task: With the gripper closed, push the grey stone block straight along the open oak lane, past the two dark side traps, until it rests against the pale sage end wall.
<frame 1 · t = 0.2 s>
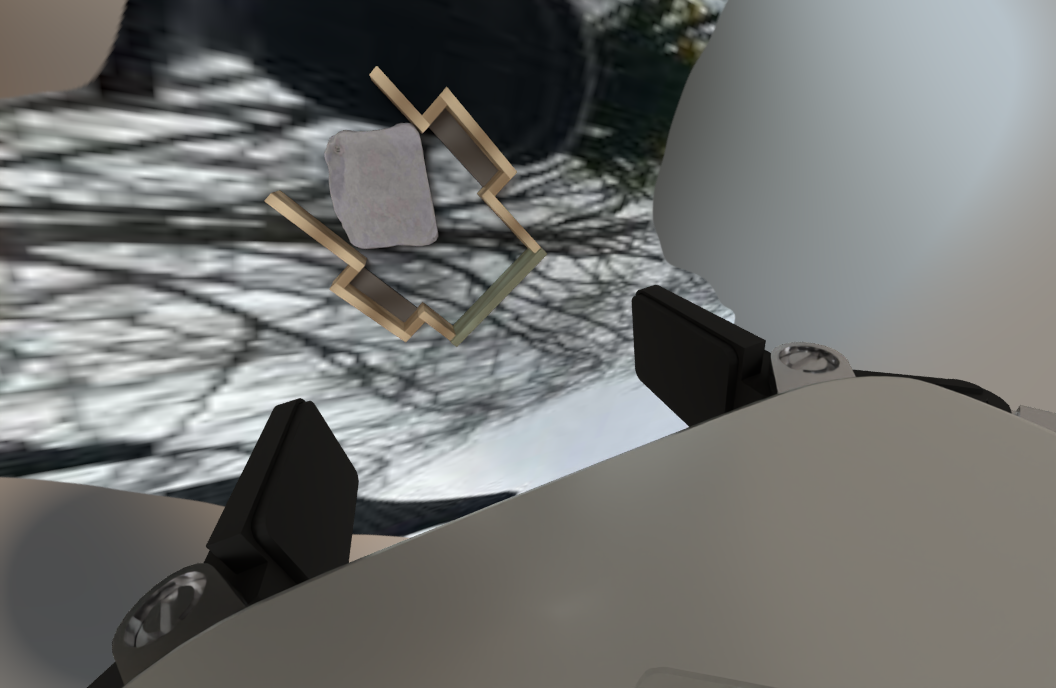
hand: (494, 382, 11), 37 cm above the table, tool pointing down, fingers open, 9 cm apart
stone block: (382, 190, 40), on the table
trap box: (422, 225, 42), on the table
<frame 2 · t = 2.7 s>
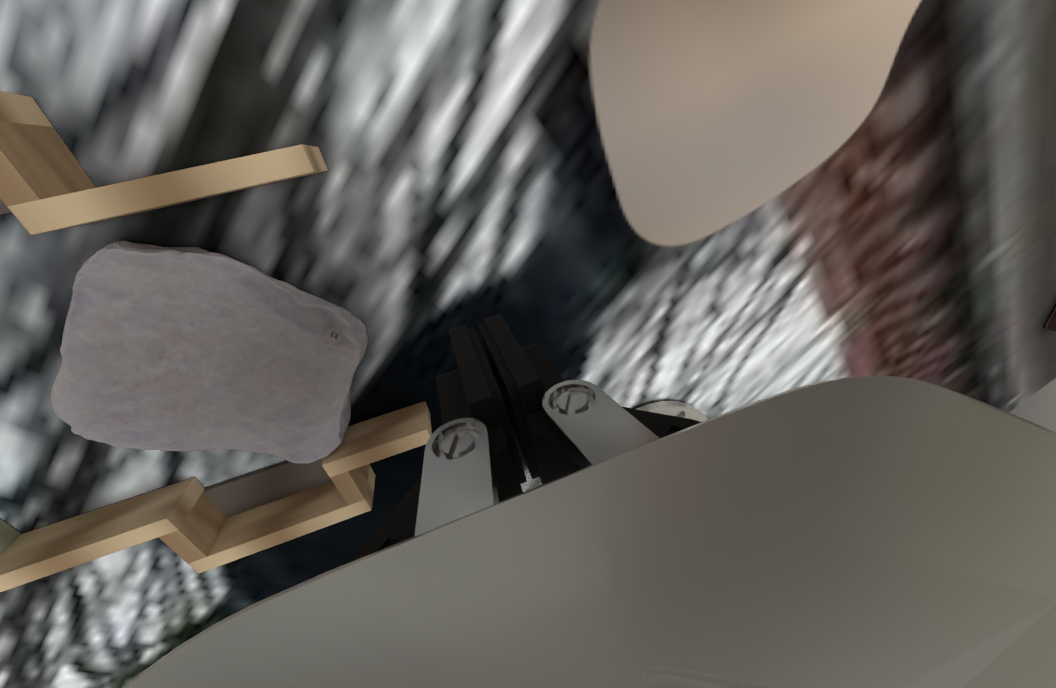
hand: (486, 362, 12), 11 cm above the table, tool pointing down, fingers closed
stone block: (250, 338, 20), on the table, touching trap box
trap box: (151, 370, 19), on the table
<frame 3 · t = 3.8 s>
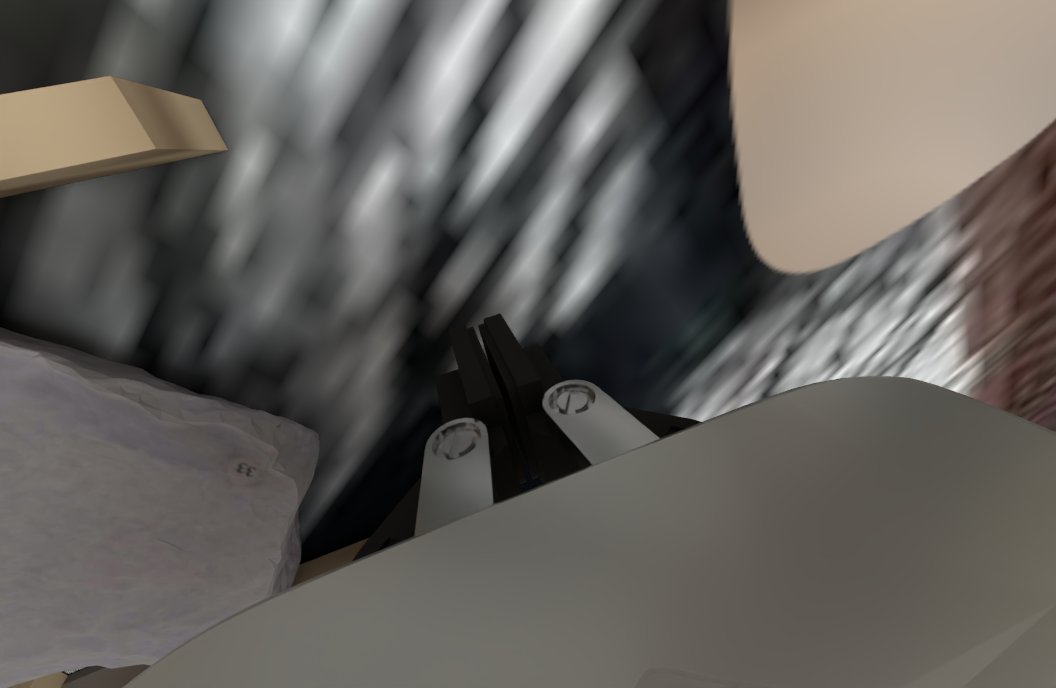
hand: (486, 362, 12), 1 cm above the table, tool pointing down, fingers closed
stone block: (107, 456, 11), on the table
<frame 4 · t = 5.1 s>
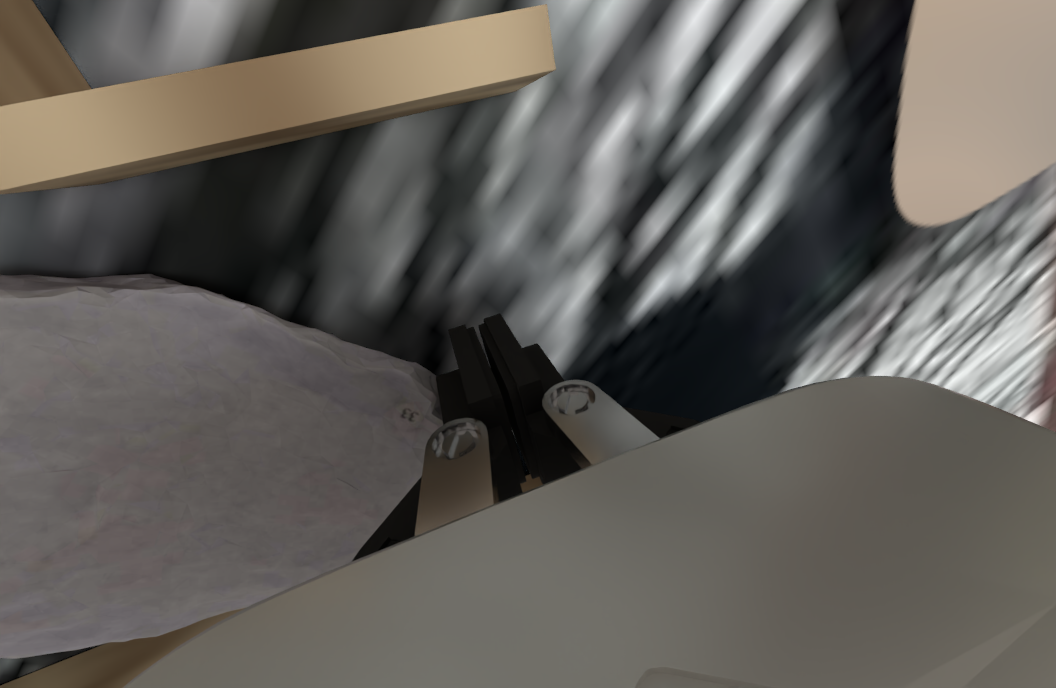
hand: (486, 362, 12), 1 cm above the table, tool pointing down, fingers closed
stone block: (260, 416, 12), on the table, touching gripper
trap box: (202, 437, 12), on the table
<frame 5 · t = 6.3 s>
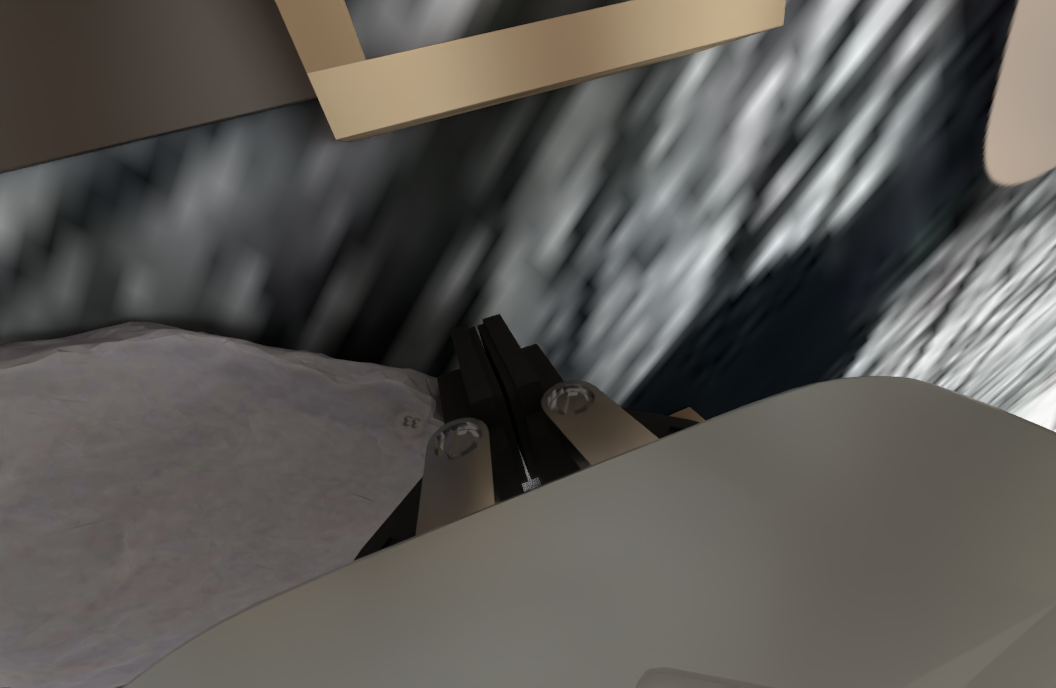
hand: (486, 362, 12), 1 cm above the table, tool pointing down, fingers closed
stone block: (274, 440, 13), on the table, touching gripper, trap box
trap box: (388, 385, 13), on the table
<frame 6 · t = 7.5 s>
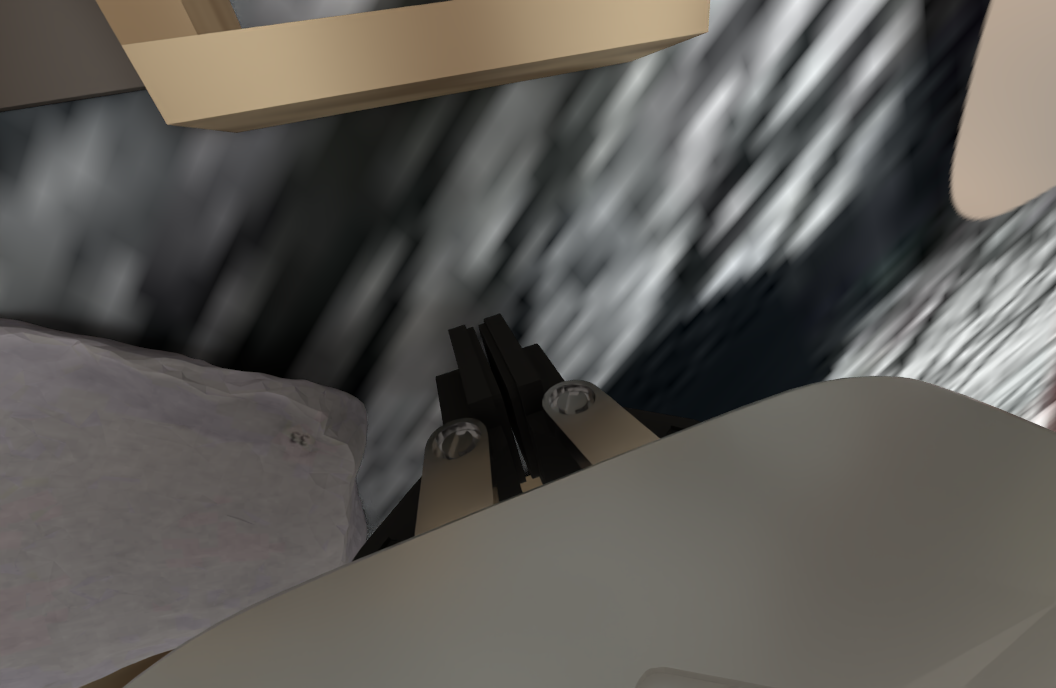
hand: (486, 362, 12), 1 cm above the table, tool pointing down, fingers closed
stone block: (168, 449, 12), on the table
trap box: (295, 400, 12), on the table
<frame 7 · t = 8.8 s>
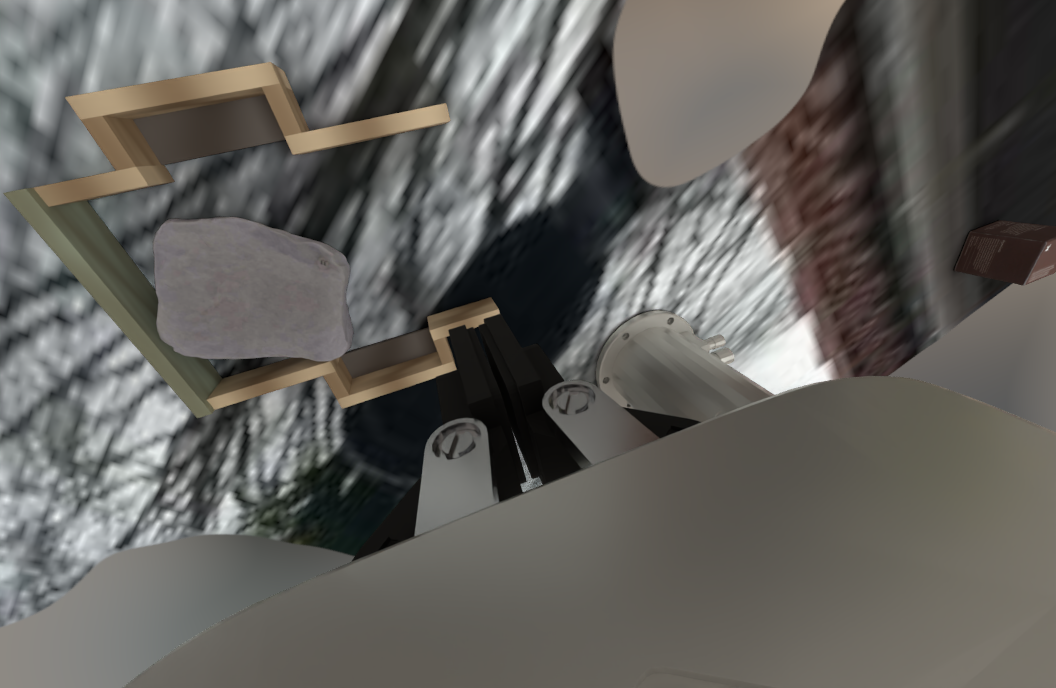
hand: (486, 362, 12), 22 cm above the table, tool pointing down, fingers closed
stone block: (270, 281, 29), on the table
box: (973, 245, 53), on the table
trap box: (321, 260, 29), on the table
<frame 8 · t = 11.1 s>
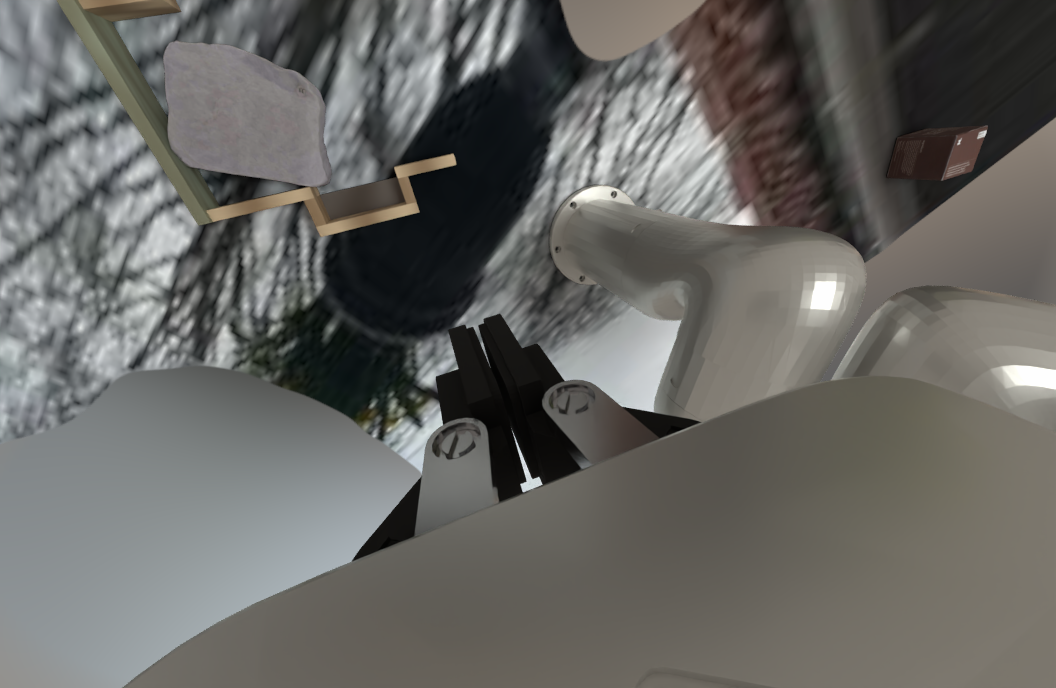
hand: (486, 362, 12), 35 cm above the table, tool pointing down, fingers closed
stone block: (260, 119, 34), on the table
box: (903, 153, 59), on the table
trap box: (301, 99, 34), on the table
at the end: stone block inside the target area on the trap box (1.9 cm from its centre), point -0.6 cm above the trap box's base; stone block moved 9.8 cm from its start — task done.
